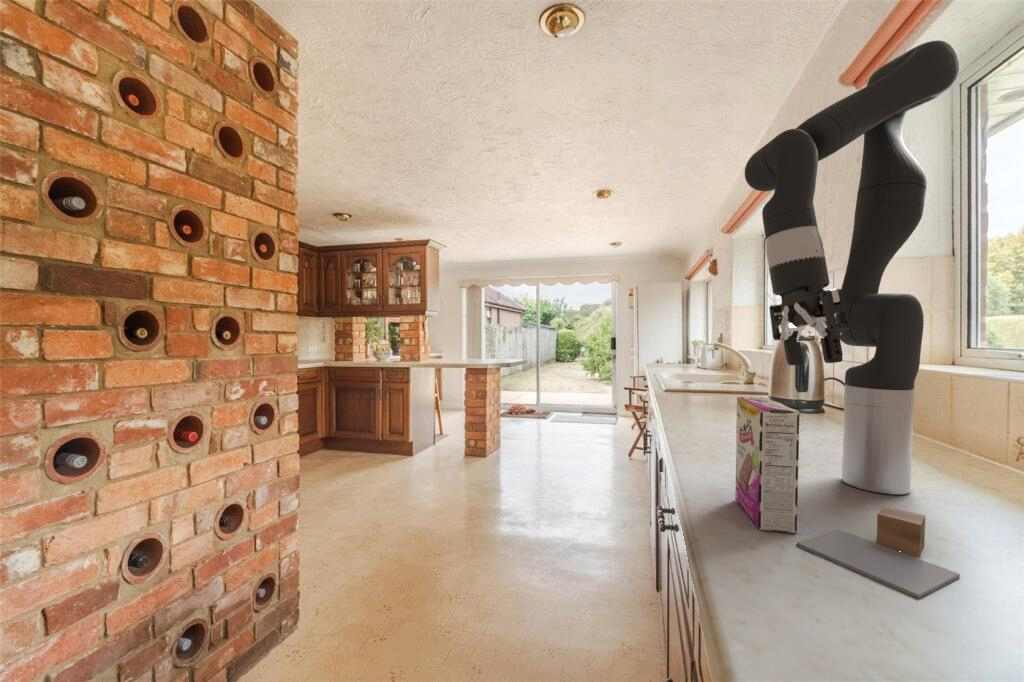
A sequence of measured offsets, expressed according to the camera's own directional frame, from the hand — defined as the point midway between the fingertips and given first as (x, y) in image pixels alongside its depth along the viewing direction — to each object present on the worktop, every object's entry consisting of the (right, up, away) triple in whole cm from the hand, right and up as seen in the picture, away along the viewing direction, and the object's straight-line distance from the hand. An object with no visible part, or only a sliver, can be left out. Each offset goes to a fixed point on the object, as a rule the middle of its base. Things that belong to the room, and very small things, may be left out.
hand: (813, 363), depth 68 cm
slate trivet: (-5, -22, -17) cm, 28 cm away
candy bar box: (-11, -22, -5) cm, 25 cm away
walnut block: (+2, -22, -13) cm, 26 cm away
